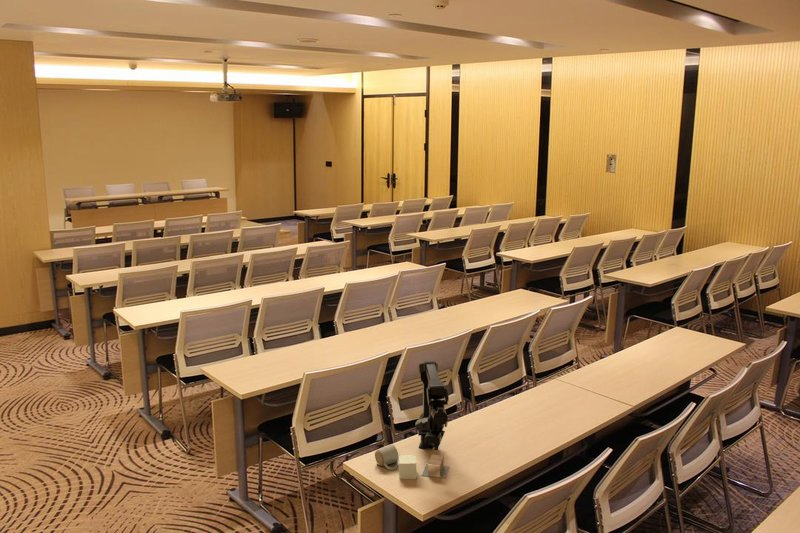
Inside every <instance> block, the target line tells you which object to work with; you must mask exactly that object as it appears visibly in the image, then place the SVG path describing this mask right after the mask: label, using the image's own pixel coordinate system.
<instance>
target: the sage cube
mask: <svg viewBox="0 0 800 533" xmlns="http://www.w3.org/2000/svg"><path fill="white" fill-rule="evenodd" d="M398 456H399V458H398V477H399V480H407V479H408V480H410V479H412V480H415V479H417V457H416V454H411V455H410V454H408V455H407V454H406V455H405V454H404V455H403V454H402V455H399V454H398Z"/></svg>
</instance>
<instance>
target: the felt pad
mask: <svg viewBox="0 0 800 533" xmlns="http://www.w3.org/2000/svg"><path fill="white" fill-rule="evenodd" d="M449 469H450V466H448V465H443V469H442V472H441V475H440V477H435V476H428V463H426V464H425V466H424V470H423V471H422V474H421V476H422V477H426V478H428V477H429V478H437V479H444V480H445V479H446V478H447V475H448V473H449Z"/></svg>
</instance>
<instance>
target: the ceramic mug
mask: <svg viewBox="0 0 800 533" xmlns="http://www.w3.org/2000/svg"><path fill="white" fill-rule="evenodd" d="M374 459H375V461H376V463H377V465H378V466H381V467H385V468H386V469H387V470H390V471H394V470H396V469H398V468H399V452H398V448H396V446H395V445H394V444H392V443H390V444H388V445H385V446H382V447H381V448H378V449H376V450H375V452H374ZM394 463H396V466H394V467H393V466H391V467H390V466H388V465H391V464H394Z"/></svg>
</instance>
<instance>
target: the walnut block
mask: <svg viewBox="0 0 800 533" xmlns="http://www.w3.org/2000/svg"><path fill="white" fill-rule="evenodd" d="M444 463H445V462H444V455H440V454H433V453H432V454H431V455H430V458H429V460H428V463H427V464H428V476H435V477H440V475H441V472H442V469H443V466H444ZM435 477H434V478H435Z"/></svg>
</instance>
